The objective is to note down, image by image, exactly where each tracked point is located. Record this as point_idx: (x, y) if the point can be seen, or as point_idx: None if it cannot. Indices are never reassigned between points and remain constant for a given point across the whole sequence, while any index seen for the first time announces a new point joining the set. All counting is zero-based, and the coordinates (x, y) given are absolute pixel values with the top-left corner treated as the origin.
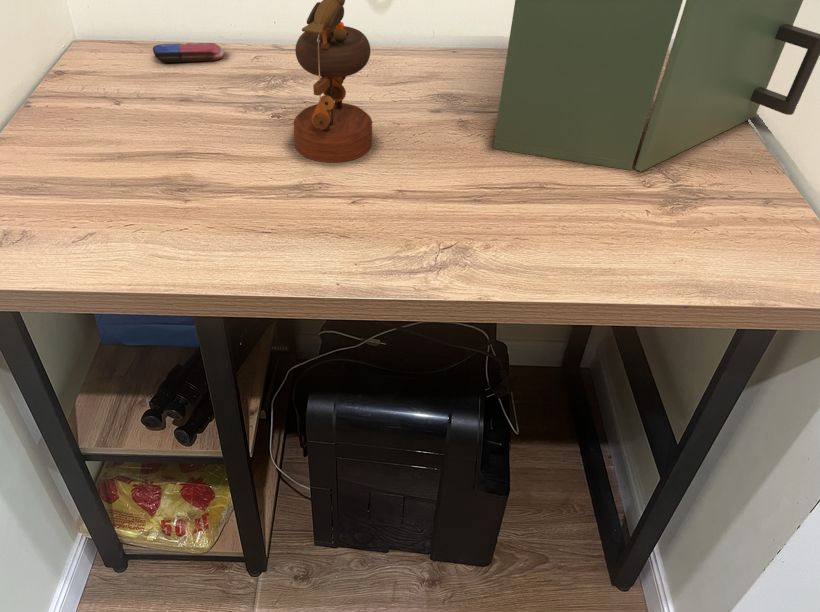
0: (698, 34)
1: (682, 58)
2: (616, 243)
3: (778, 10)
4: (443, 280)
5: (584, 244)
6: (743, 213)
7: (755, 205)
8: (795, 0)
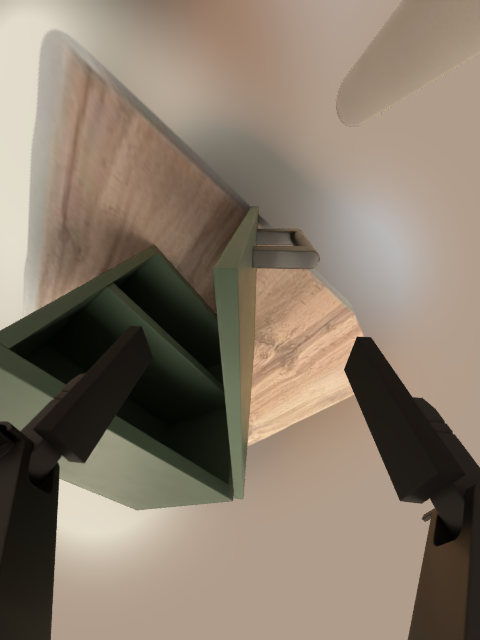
0: (248, 418)
1: (249, 410)
2: (285, 397)
3: (250, 300)
4: (256, 435)
5: (276, 403)
6: (321, 345)
7: (323, 334)
8: (250, 262)
